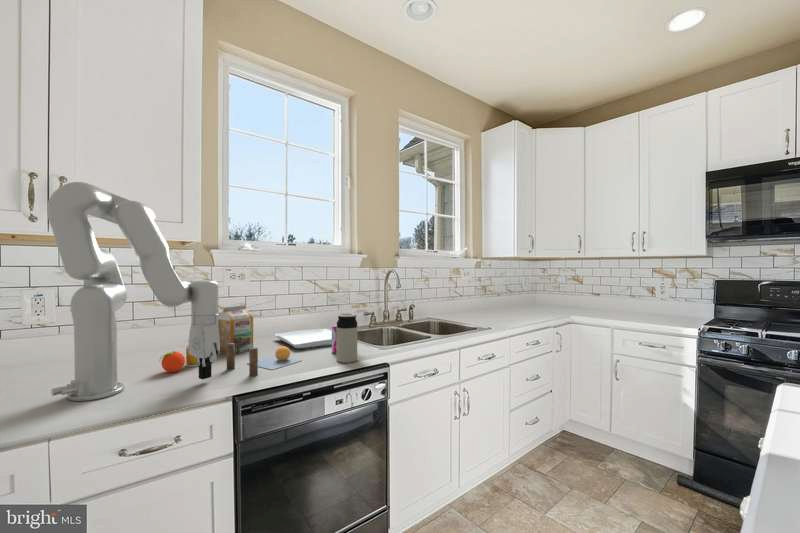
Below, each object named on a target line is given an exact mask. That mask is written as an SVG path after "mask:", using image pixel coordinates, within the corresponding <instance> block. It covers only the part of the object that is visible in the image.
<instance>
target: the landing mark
mask: <svg viewBox="0 0 800 533" xmlns="http://www.w3.org/2000/svg"><path fill="white" fill-rule="evenodd" d="M302 361H303V360H301V359H297V358H292V357H289V358H288V359H287V360H285V361H280V360H278V359H277V358H276V356H275V355H272V356H269V357H266V358H262V359H258V368H261V369H265V368H266V370H271V371H274V370H277V369H280V367H281V368H283V367H287V366H290V365H293V363H294V364H297V363H300V362H302ZM296 362H297V363H296ZM246 365H249V362H247V363H246Z"/></svg>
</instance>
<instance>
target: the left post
mask: <svg viewBox="0 0 800 533" xmlns="http://www.w3.org/2000/svg"><path fill="white" fill-rule="evenodd" d="M235 357H236V354H235V343H228V344H227V354H226V370H227V371H234V370H235V368H236V366H235V364H236V358H235Z"/></svg>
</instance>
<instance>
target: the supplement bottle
mask: <svg viewBox="0 0 800 533" xmlns="http://www.w3.org/2000/svg"><path fill="white" fill-rule="evenodd" d="M187 342H188V343H189V338H188V341H187ZM185 350H186V351H185V356H186V357H185V365H186V367H190V368H192V367H193V368H194V367H199V366H198V362H197V358H195V357H194V356H192V355H190V354H189V344H187V345H186V347H185Z"/></svg>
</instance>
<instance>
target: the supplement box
mask: <svg viewBox="0 0 800 533" xmlns="http://www.w3.org/2000/svg"><path fill="white" fill-rule="evenodd" d="M331 330H332V345H331V354H334V355H335V354H336V355H337V324H334V325H333V326H331Z"/></svg>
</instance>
